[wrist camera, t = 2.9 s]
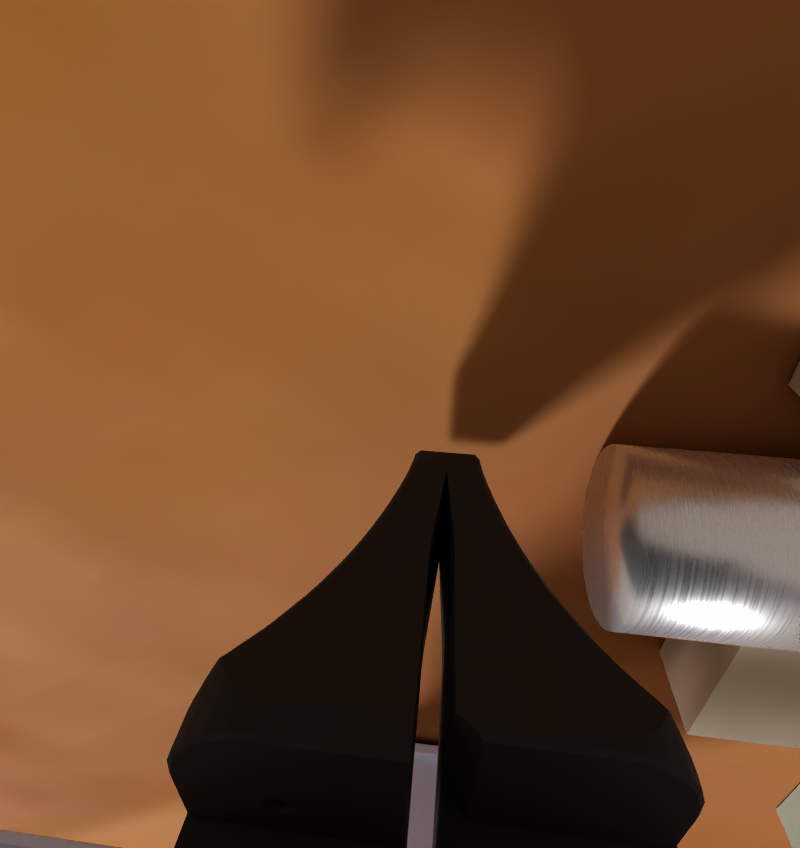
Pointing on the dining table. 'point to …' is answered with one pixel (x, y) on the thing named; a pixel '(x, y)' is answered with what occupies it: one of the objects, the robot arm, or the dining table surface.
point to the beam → (736, 685)
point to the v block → (791, 817)
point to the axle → (694, 546)
